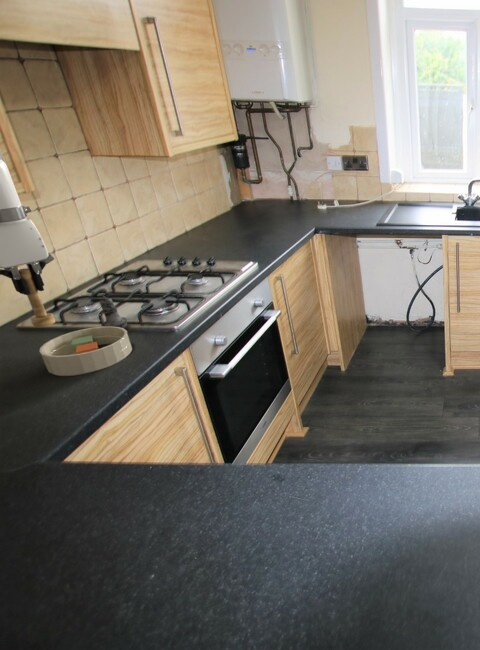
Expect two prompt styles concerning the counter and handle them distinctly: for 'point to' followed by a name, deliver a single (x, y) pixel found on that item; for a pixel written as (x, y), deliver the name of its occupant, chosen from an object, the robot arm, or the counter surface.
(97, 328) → the bowl
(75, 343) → the block green
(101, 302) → the dark grey figurine
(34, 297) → the muddler
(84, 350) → the block orange
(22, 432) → the counter surface
